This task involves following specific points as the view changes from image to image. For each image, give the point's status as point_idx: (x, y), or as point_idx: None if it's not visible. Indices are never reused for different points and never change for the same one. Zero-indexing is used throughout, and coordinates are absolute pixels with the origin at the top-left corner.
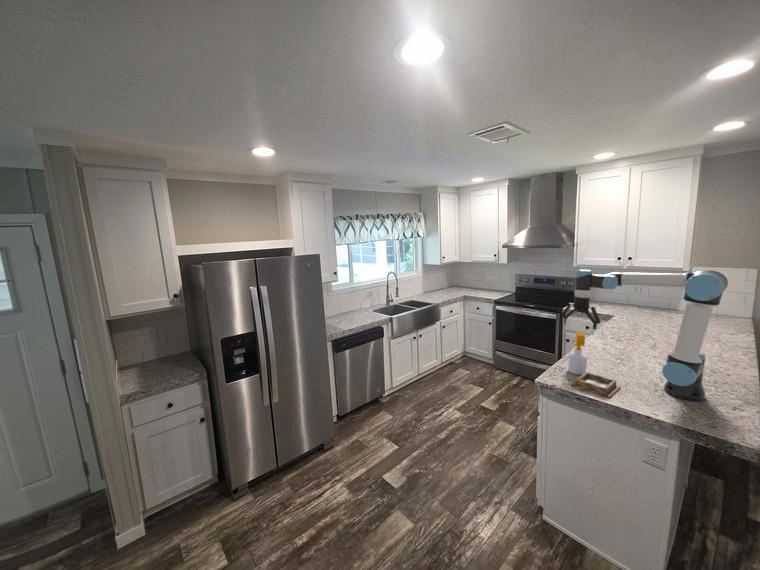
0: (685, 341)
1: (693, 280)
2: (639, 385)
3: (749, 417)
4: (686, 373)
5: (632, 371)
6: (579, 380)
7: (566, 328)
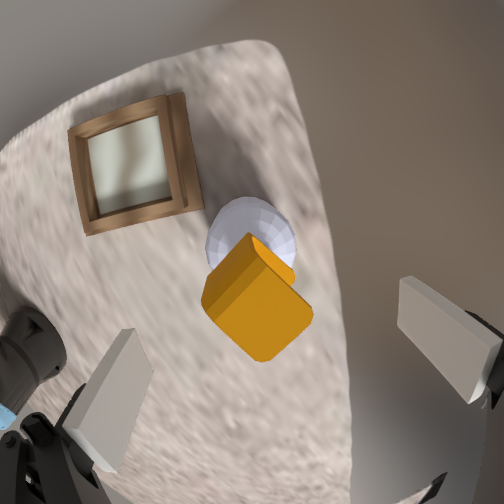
0: None
1: None
2: (85, 306)
3: None
4: None
5: (159, 386)
6: (150, 98)
7: (408, 283)
